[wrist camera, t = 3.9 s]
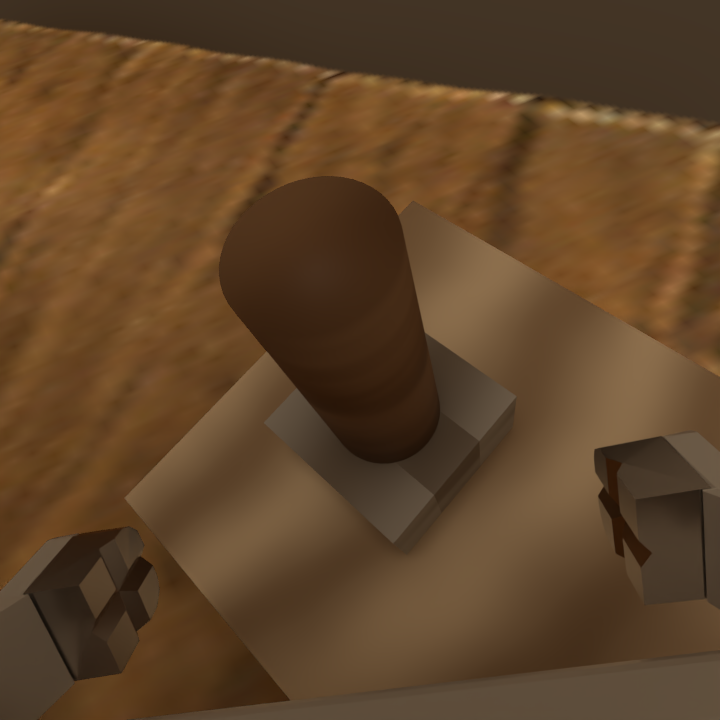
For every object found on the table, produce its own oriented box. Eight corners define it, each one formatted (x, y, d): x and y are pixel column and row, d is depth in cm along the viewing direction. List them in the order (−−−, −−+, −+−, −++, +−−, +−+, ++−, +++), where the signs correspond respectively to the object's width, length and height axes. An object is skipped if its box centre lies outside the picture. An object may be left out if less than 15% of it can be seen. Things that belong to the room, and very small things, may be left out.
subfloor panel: (144, 504, 24) (72, 480, 20) (416, 221, 27) (404, 149, 23) (964, 1484, 11) (1240, 1985, 7) (1284, 735, 15) (1600, 781, 11)
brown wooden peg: (332, 442, 22) (183, 270, 11) (393, 375, 22) (309, 150, 12) (402, 504, 20) (308, 374, 9) (465, 430, 21) (444, 229, 10)
